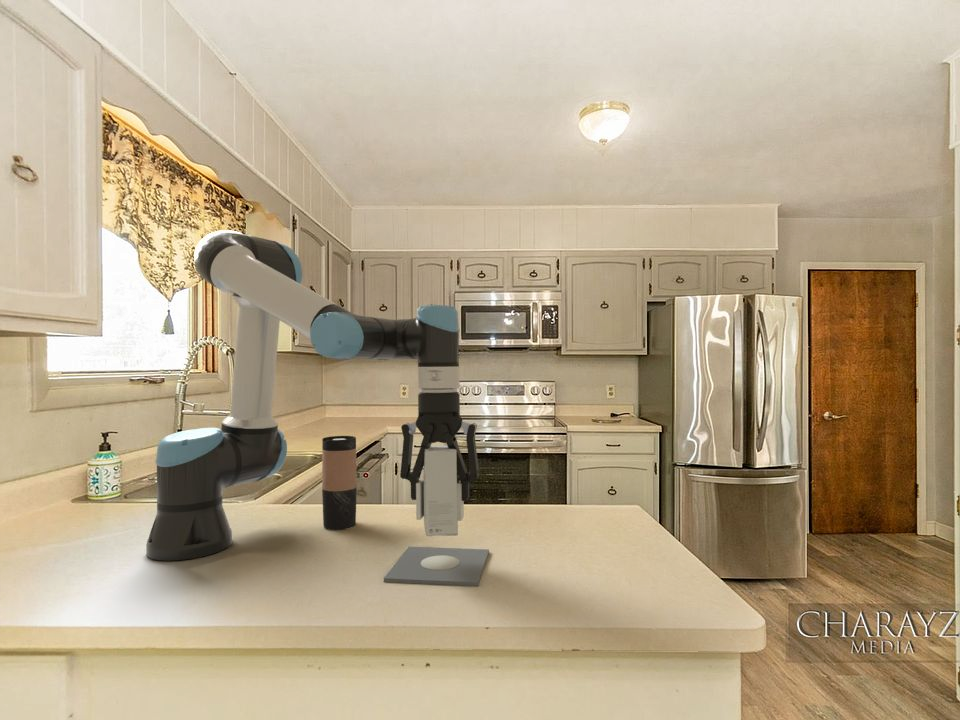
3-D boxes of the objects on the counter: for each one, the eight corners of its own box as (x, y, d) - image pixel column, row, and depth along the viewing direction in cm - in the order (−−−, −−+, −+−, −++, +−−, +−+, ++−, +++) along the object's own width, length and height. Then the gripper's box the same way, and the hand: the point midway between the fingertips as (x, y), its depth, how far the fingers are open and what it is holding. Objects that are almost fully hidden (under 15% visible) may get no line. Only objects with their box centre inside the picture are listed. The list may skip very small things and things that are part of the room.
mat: (383, 581, 90) (383, 577, 90) (408, 549, 106) (408, 545, 106) (477, 586, 88) (477, 581, 88) (489, 552, 104) (489, 548, 104)
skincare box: (458, 536, 93) (459, 450, 93) (423, 537, 93) (424, 450, 93) (454, 522, 102) (455, 443, 102) (422, 523, 101) (423, 444, 101)
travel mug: (361, 521, 126) (360, 435, 126) (350, 531, 118) (349, 440, 119) (329, 520, 127) (329, 435, 127) (316, 530, 119) (316, 440, 119)
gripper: (380, 392, 95) (381, 522, 95) (490, 391, 93) (491, 525, 92) (392, 390, 103) (393, 511, 102) (494, 389, 100) (496, 513, 100)
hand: (440, 517), depth 97 cm, fingers closed on skincare box, 7 cm apart
